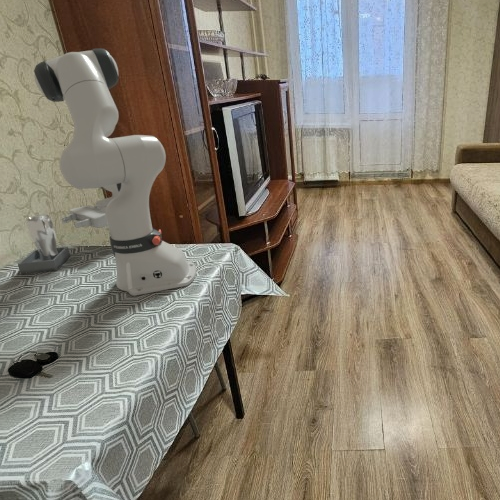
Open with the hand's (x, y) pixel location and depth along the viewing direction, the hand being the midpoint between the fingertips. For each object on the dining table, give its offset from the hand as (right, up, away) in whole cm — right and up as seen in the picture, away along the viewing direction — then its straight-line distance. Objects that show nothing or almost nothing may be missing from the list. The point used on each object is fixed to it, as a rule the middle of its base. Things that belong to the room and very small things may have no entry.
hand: (68, 223), depth 126 cm
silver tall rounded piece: (-4, -13, -3) cm, 14 cm away
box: (-6, -14, -3) cm, 15 cm away
